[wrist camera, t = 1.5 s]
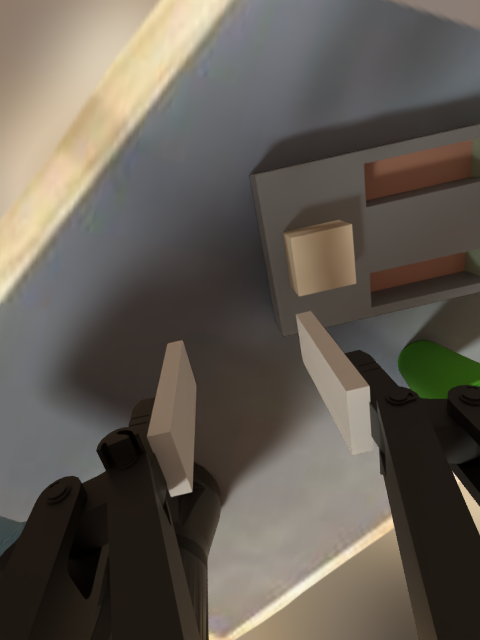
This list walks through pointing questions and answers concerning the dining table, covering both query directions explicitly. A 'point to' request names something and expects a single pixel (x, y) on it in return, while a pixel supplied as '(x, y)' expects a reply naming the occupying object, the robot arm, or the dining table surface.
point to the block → (320, 257)
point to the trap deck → (379, 225)
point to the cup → (436, 369)
